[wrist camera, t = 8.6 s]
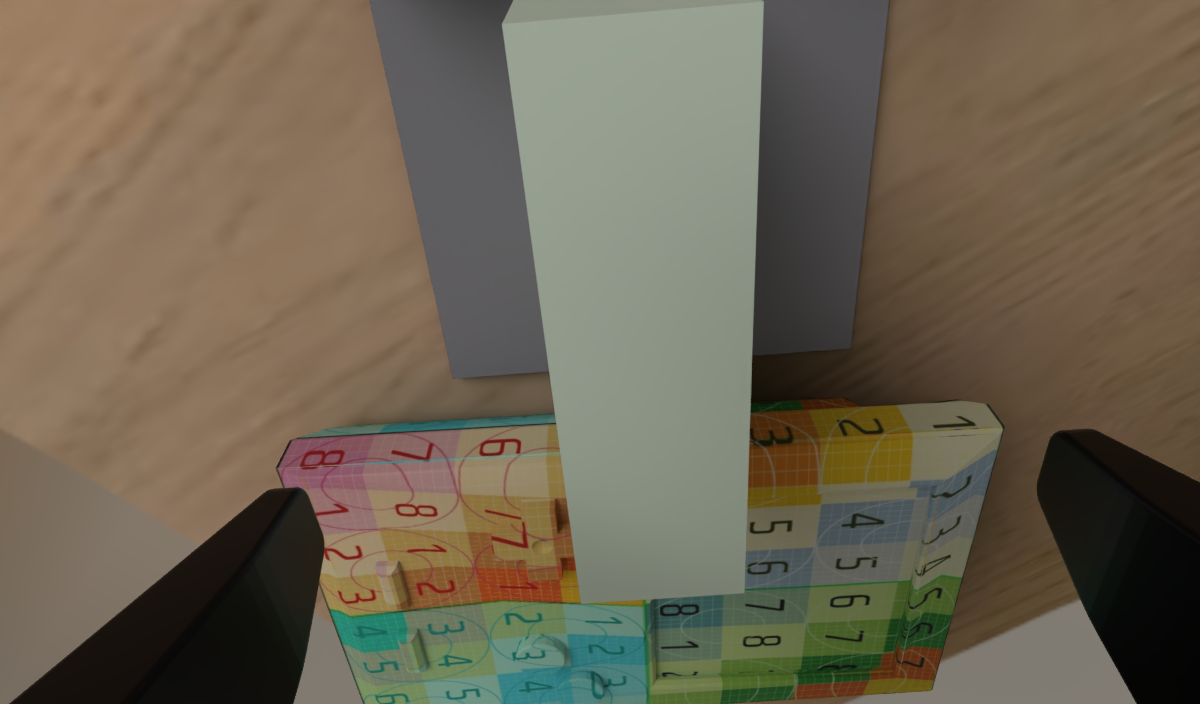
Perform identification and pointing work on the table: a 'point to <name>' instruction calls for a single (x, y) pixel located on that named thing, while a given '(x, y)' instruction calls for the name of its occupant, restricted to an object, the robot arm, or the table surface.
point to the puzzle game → (656, 626)
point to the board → (645, 276)
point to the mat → (497, 197)
